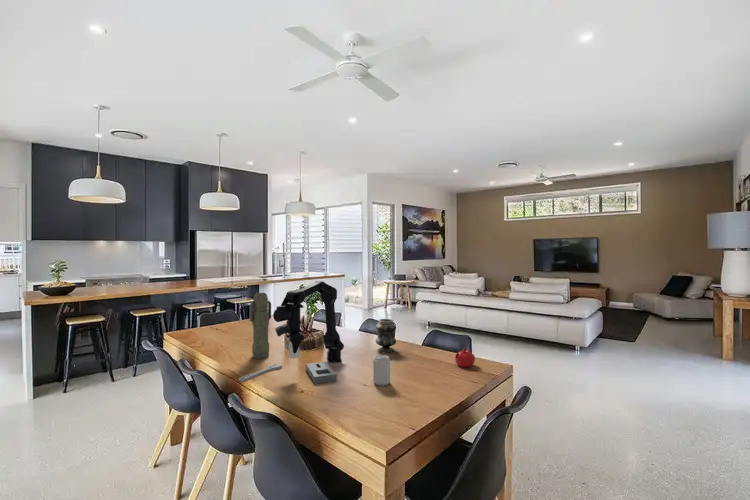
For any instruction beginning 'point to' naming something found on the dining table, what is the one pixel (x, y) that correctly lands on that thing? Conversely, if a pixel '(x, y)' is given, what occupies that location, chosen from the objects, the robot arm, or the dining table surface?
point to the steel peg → (291, 354)
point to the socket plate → (321, 372)
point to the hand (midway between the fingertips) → (294, 352)
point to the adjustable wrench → (261, 372)
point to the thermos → (260, 325)
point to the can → (381, 370)
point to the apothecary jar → (386, 335)
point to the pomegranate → (464, 358)
